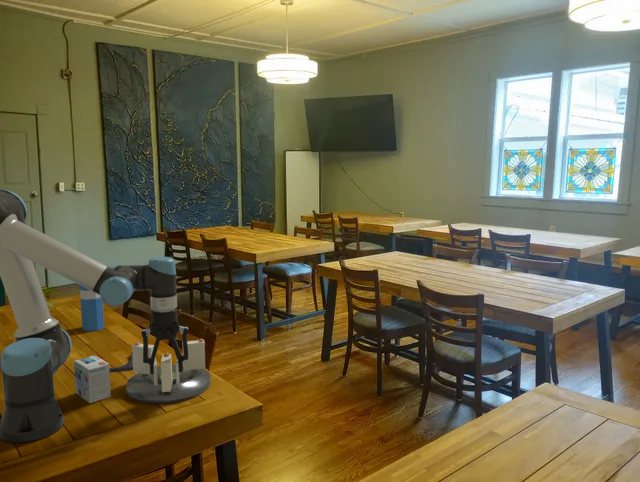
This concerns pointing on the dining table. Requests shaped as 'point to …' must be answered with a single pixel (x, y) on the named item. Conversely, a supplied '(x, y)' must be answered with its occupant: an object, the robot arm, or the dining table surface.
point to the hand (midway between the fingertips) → (167, 382)
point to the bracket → (124, 366)
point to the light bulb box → (92, 378)
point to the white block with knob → (166, 372)
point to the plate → (186, 389)
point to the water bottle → (91, 310)
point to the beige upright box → (195, 356)
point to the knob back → (141, 359)
